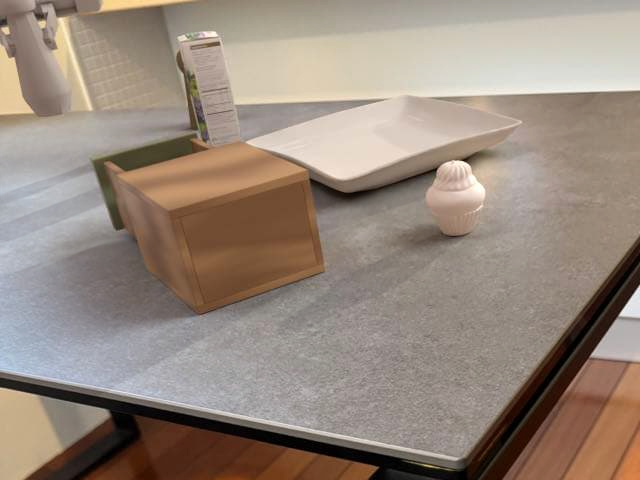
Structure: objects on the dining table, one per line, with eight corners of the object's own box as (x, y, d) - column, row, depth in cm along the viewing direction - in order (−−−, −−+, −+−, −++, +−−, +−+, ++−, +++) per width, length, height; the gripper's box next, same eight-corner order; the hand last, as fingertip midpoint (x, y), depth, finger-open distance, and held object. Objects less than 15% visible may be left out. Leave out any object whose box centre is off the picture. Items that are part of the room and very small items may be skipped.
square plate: (408, 119, 121) (406, 90, 118) (526, 151, 103) (526, 117, 100) (246, 166, 111) (239, 136, 109) (344, 211, 93) (338, 176, 90)
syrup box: (201, 146, 122) (173, 36, 113) (240, 139, 123) (215, 28, 114) (206, 156, 118) (177, 41, 108) (246, 148, 119) (220, 33, 109)
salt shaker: (51, 120, 98) (5, -8, 89) (20, 118, 100) (-27, -6, 92) (87, 106, 101) (46, -18, 93) (56, 106, 104) (13, -15, 95)
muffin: (499, 225, 84) (496, 154, 80) (460, 245, 81) (455, 173, 77) (455, 216, 88) (450, 147, 83) (416, 234, 85) (409, 164, 80)
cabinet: (146, 268, 86) (115, 174, 80) (261, 232, 91) (240, 140, 84) (199, 315, 75) (168, 210, 69) (325, 271, 80) (307, 169, 74)
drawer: (101, 218, 98) (78, 150, 93) (196, 191, 102) (178, 124, 97) (153, 262, 85) (128, 185, 80) (259, 228, 89) (242, 153, 84)
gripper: (88, -47, 102) (123, 52, 101) (-83, -20, 97) (-47, 84, 97) (77, -91, 96) (115, 14, 95) (-105, -64, 91) (-67, 46, 90)
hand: (32, 50), depth 96 cm, fingers closed on salt shaker, 3 cm apart
